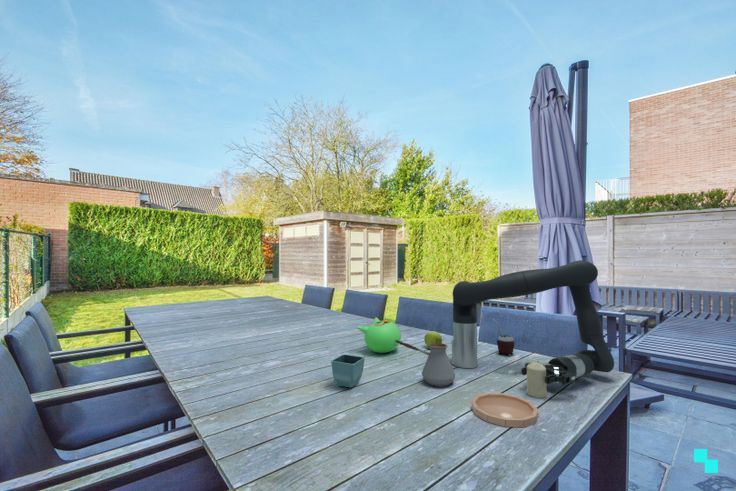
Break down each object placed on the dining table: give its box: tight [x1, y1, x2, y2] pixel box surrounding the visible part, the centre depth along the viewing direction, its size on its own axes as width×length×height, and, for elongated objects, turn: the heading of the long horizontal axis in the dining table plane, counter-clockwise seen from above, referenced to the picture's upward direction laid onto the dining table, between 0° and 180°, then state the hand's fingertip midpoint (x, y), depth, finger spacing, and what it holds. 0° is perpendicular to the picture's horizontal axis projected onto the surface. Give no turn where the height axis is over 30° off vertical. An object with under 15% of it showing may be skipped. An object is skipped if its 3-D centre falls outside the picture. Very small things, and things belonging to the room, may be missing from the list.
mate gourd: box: [492, 318, 515, 358], centre depth 151 cm, size 8×8×15 cm
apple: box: [423, 330, 443, 348], centre depth 161 cm, size 8×9×8 cm
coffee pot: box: [394, 340, 456, 387], centre depth 119 cm, size 21×12×15 cm, turn 92°
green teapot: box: [356, 317, 402, 354], centre depth 157 cm, size 18×17×15 cm
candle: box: [526, 361, 547, 399], centre depth 109 cm, size 6×6×10 cm
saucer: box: [470, 392, 539, 428], centre depth 97 cm, size 17×17×2 cm
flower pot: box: [330, 353, 365, 388], centre depth 118 cm, size 9×9×9 cm
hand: (533, 375), depth 108 cm, fingers open, 8 cm apart
